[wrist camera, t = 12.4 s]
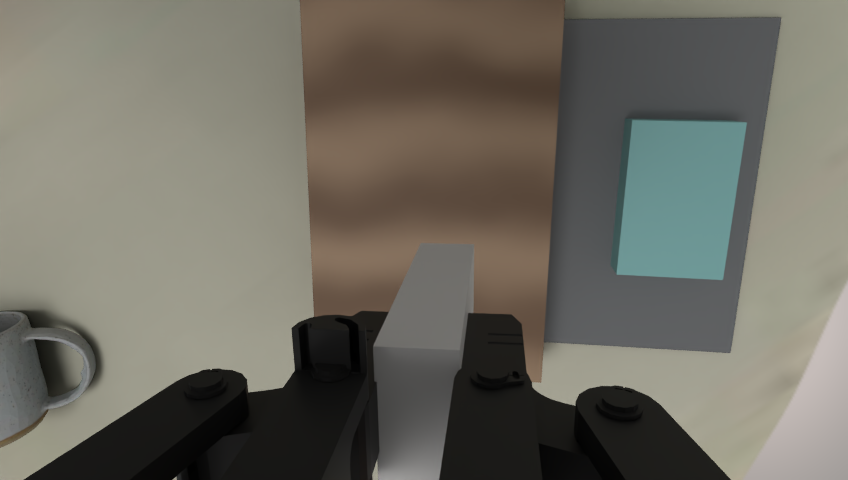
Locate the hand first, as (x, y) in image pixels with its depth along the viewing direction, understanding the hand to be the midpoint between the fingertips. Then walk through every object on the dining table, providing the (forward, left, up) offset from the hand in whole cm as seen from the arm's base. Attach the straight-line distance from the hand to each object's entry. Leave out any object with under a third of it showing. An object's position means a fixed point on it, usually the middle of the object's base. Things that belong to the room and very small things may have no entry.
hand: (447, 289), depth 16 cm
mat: (+1, +10, -21) cm, 23 cm away
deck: (+1, -3, -21) cm, 21 cm away
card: (+1, +12, -18) cm, 22 cm away
